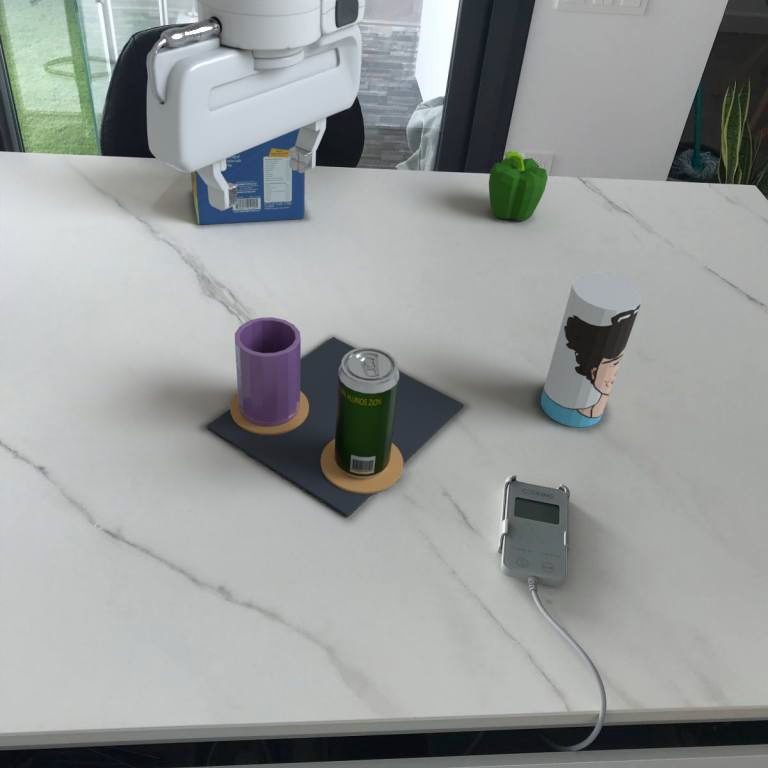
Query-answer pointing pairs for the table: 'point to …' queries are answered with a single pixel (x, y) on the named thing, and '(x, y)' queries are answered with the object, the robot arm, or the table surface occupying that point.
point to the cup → (589, 347)
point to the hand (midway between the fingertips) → (264, 186)
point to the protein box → (257, 185)
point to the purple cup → (268, 371)
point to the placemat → (317, 432)
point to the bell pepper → (516, 187)
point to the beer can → (365, 412)
